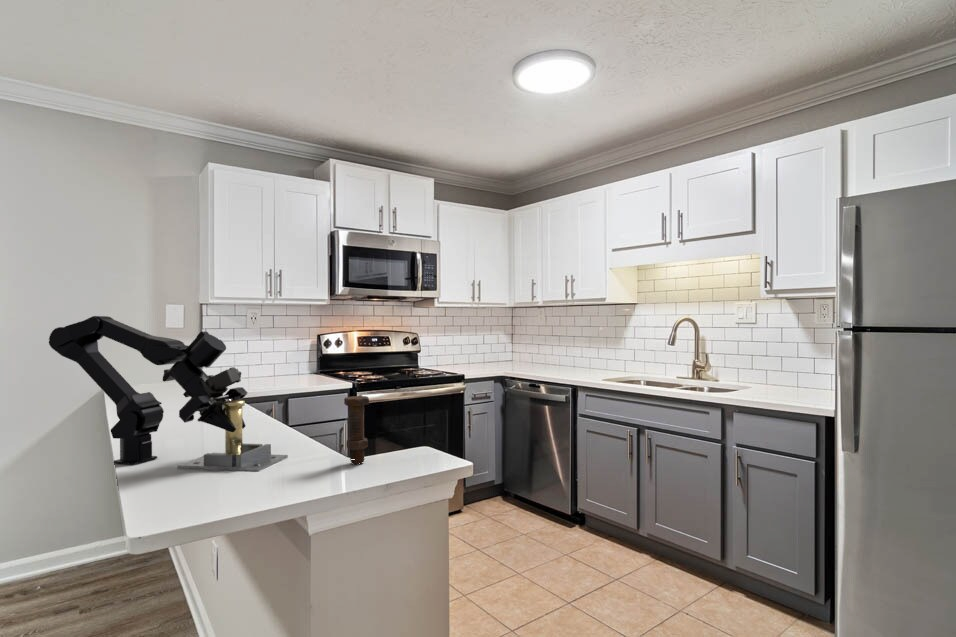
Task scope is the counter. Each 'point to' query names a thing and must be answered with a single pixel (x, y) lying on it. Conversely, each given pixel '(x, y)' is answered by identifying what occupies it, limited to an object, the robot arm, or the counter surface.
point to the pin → (235, 415)
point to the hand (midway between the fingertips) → (239, 429)
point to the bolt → (356, 427)
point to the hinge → (237, 459)
